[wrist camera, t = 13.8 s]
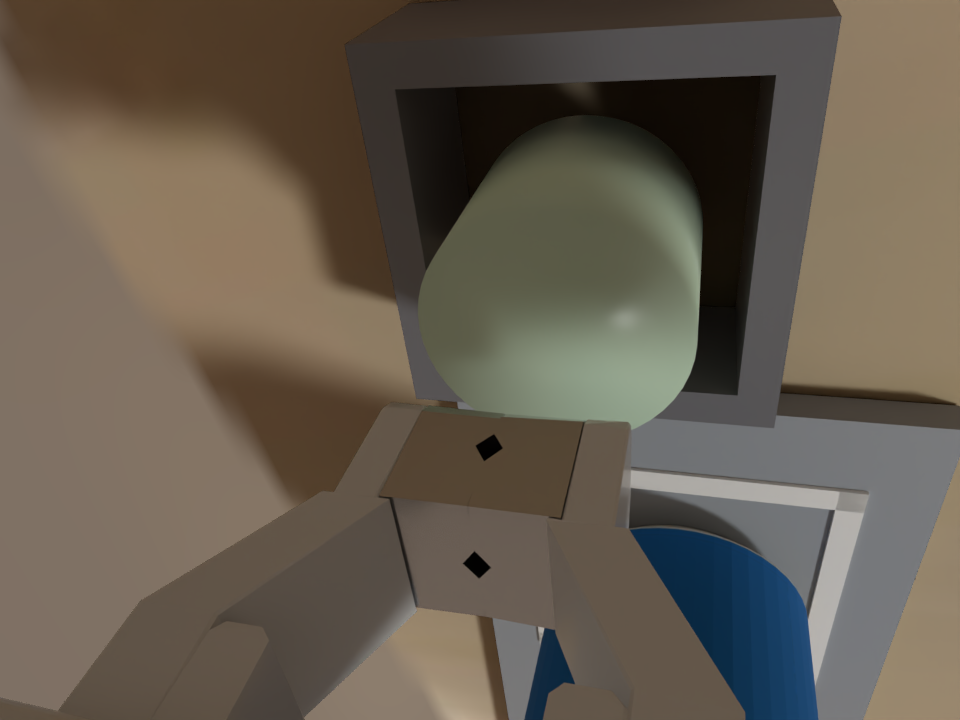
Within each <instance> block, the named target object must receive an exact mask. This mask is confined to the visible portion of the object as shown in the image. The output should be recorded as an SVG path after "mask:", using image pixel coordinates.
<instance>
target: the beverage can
mask: <svg viewBox="0 0 960 720" xmlns="http://www.w3.org/2000/svg"><path fill="white" fill-rule="evenodd" d="M629 530H630V531H631V533H632V535H633V536H634V538H635V539H636V541H637V542H638V544H639V546H640V547H641V549H642V550H643V552H644V554H645V555H646V557H647V558H648V560H649V561H650V563H651V565H652V566H653V568H654V569H655V571H656V572H657V574H658V576H659V577H660V579H661V580H662V582H663V583H664V585H665V587H666V588H667V590H668V591H669V593H670V595H671V596H672V598H673V599H674V601H675V602H676V604H677V606H678V607H679V609H680V610H681V612H682V613H683V615H684V617H685V618H686V620H687V621H688V623H689V624H690V626H691V628H692V629H693V631H694V632H695V634H696V636H697V637H698V639H699V640H700V642H701V643H702V645H703V647H704V648H705V650H706V651H707V653H708V654H709V656H710V658H711V659H712V661H713V662H714V664H715V665H716V667H717V669H718V670H719V672H720V673H721V675H722V676H723V678H724V680H725V681H726V683H727V684H728V686H729V688H730V689H731V691H732V692H733V694H734V695H735V697H736V699H737V700H738V702H739V703H740V705H741V706H742V708H743V710H744V711H745V720H819V719H818V709H817V700H816V691H815V681H814V672H813V663H812V654H811V644H810V635H809V626H808V618H807V610H806V608H805V605H804V602H803V599H802V597H801V595H800V594H799V592H798V590H797V589H796V587H795V585H794V584H793V583H792V582H791V581H790V579H789V578H788V577H787V576H786V575H785V574H784V573H783V572H782V571H781V570H780V569H779V568H778V567H777V566H775V565H774V564H773V563H771V562H770V561H768V560H767V559H766V558H764V557H763V556H761V555H760V554H758V553H756V552H754V551H753V550H751V549H749V548H747V547H745V546H743V545H740V544H738V543H736V542H734V541H731V540H729V539H726V538H723V537H721V536H718V535H716V534H713V533H710V532H707V531H704V530H700V529H696V528H691V527H685V526H678V525H649V526H641V527H636V528H629ZM563 683H570V684H575V682H574V679H573V677H572V674H571V672H570V669H569V667H568V664H567V661H566V659H565V656H564V654H563V651H562V649H561V646H560V643H559V641H558V638H557V636H556V631H555V630H553V629H548V628H544V632H543V637H542V641H541V646H540V650H539V655H538V659H537V664H536V669H535V673H534V678H533V682H532V687H531V691H530V696H529V700H528V705H527V709H526V714H525V719H524V720H543V717H544V712H545V707H546V703H547V698H548V694H549V693H550V692H551V691H553V690H554V689H556V688H557V687H559V686H560V685H562V684H563Z"/></svg>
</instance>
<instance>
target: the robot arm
mask: <svg viewBox="0 0 960 720" xmlns="http://www.w3.org/2000/svg"><path fill="white" fill-rule="evenodd" d="M631 445H632V431H631V425H630V423H629V422H622V421H606V420H590V419H587V420H577V419H564V418H551V417H538V416H526V415H513V414H503V413H494V412H485V411H475V410H466V409H457V408H448V407H438V406H423V405H414V404H404V403H395V402H391V403H389V404H388V405H386V406H385V407H383V408H382V410H381V411H380V413H379V415H378V417H377V418H376V420H375V422H374V423H373V425H372V427H371V429H370V430H369V432H368V434H367V435H366V437H365V439H364V441H363V442H362V444H361V446H360V447H359V449H358V451H357V453H356V454H355V456H354V458H353V459H352V461H351V463H350V465H349V466H348V468H347V470H346V471H345V473H344V475H343V477H342V478H341V480H340V482H339V483H338V485H337V487H336V489H335V490H334V492H328V491H321V492H320V493H318V494H316V495H315V496H313V497H311V498H310V499H308V500H306V501H305V502H303V503H301V504H300V505H298V506H296V507H295V508H293V509H291V510H290V511H288V512H287V513H285V514H283V515H282V516H280V517H278V518H277V519H275V520H273V521H272V522H270V523H268V524H267V525H265V526H264V527H262V528H260V529H258V530H257V531H255V532H253V533H252V534H250V535H249V536H247V537H245V538H243V539H242V540H240V541H239V542H237V543H235V544H234V545H232V546H230V547H229V548H227V549H225V550H224V551H222V552H220V553H219V554H217V555H216V556H214V557H212V558H211V559H209V560H207V561H205V562H204V563H202V564H201V565H199V566H197V567H196V568H194V569H192V570H191V571H189V572H187V573H186V574H184V575H182V576H181V577H179V578H177V579H176V580H174V581H172V582H171V583H169V584H167V585H166V586H164V587H163V588H161V589H159V590H158V591H156V592H154V593H152V594H151V595H149V596H148V597H146V598H144V599H143V600H141V601H140V602H139V603H138V605H137V606H136V607H135V609H134V610H133V611H132V612H131V614H130V615H129V617H128V618H127V619H126V620H125V622H124V623H123V625H122V626H121V627H120V629H119V630H118V631H117V633H116V634H115V635H114V637H113V638H112V639H111V641H110V642H109V643H108V645H107V646H106V647H105V649H104V650H103V651H102V653H101V654H100V655H99V657H98V658H97V659H96V661H95V662H94V663H93V665H92V666H91V667H90V669H89V670H88V671H87V673H86V674H85V675H84V677H83V678H82V679H81V681H80V682H79V683H78V685H77V686H76V687H75V689H74V690H73V692H72V693H71V694H70V695H69V697H68V698H67V699H66V701H65V702H64V703H63V705H62V706H61V707H60V709H59V710H58V711H56V710H51V709H47V708H43V707H39V706H35V705H30V704H26V703H22V702H18V701H13V700H9V699H5V698H1V697H0V720H305V719H304V717H305V716H306V715H307V714H308V713H309V712H310V711H311V710H312V709H313V708H315V707H316V706H317V705H318V704H319V703H320V702H321V701H322V700H323V699H324V698H325V697H326V696H327V695H328V694H329V693H330V692H332V691H333V690H334V689H335V688H336V687H337V686H338V685H339V684H340V683H341V682H342V681H343V680H344V679H345V678H346V677H348V676H349V675H350V674H351V673H352V672H353V671H354V670H355V669H356V668H357V667H358V666H359V665H360V664H361V663H362V662H363V661H365V660H366V659H367V658H368V657H369V656H370V655H371V654H372V653H373V652H374V651H375V650H376V649H377V648H378V647H379V646H380V645H382V644H383V643H384V642H385V641H386V640H387V639H388V638H389V637H390V636H391V635H392V634H393V633H394V632H395V631H397V630H398V629H399V628H400V627H401V626H402V625H403V624H404V623H405V622H406V621H407V620H408V619H409V618H410V617H411V616H412V615H414V614H415V613H416V612H417V611H416V607H418V608H425V609H433V610H440V611H448V612H455V613H463V614H470V615H477V616H486V617H490V618H495V619H500V620H506V621H511V622H516V623H521V624H527V625H532V626H537V627H542V628H548V629H553V630H555V631H556V636H557V638H558V641H559V643H560V646H561V649H562V651H563V654H564V656H565V659H566V661H567V664H568V667H569V669H570V672H571V674H572V677H573V679H574V682H575V684H570V683H563V684H562V685H560V686H559V687H557V688H556V689H554V690H553V691H551V692H550V693H549V694H548V698H547V703H546V707H545V712H544V717H543V720H745V711H744V710H743V708H742V706H741V705H740V703H739V702H738V700H737V699H736V697H735V695H734V694H733V692H732V691H731V689H730V688H729V686H728V684H727V683H726V681H725V680H724V678H723V676H722V675H721V673H720V672H719V670H718V669H717V667H716V665H715V664H714V662H713V661H712V659H711V658H710V656H709V654H708V653H707V651H706V650H705V648H704V647H703V645H702V643H701V642H700V640H699V639H698V637H697V636H696V634H695V632H694V631H693V629H692V628H691V626H690V624H689V623H688V621H687V620H686V618H685V617H684V615H683V613H682V612H681V610H680V609H679V607H678V606H677V604H676V602H675V601H674V599H673V598H672V596H671V595H670V593H669V591H668V590H667V588H666V587H665V585H664V583H663V582H662V580H661V579H660V577H659V576H658V574H657V572H656V571H655V569H654V568H653V566H652V565H651V563H650V561H649V560H648V558H647V557H646V555H645V554H644V552H643V550H642V549H641V547H640V546H639V544H638V542H637V541H636V539H635V538H634V536H633V535H632V533H631V531H630V530H629V513H630V495H631Z"/></svg>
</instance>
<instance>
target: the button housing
mask: <svg viewBox="0 0 960 720" xmlns="http://www.w3.org/2000/svg"><path fill="white" fill-rule="evenodd" d="M841 17H842V16H841V14H840V13H839V11H838V9H837V7H836V5H835V4H834V2H833V0H454V1H440V2H426V3H412V4H408V5H406V6H404V7H403V8H401V9H400V10H398V11H397V12H395V13H393V14H392V15H390V16H389V17H387V18H386V19H384V20H382V21H381V22H379V23H378V24H376V25H375V26H373V27H371V28H370V29H368V30H367V31H365V32H364V33H362V34H360V35H359V36H357V37H356V38H354V39H353V40H351V41H349V42H348V43H346V44H345V50H346V55H347V60H348V64H349V69H350V74H351V79H352V84H353V89H354V94H355V99H356V104H357V109H358V114H359V119H360V123H361V128H362V133H363V138H364V143H365V148H366V153H367V158H368V163H369V168H370V173H371V178H372V182H373V187H374V192H375V197H376V202H377V207H378V212H379V217H380V222H381V227H382V232H383V237H384V241H385V246H386V251H387V256H388V261H389V266H390V271H391V276H392V281H393V286H394V291H395V295H396V300H397V305H398V310H399V315H400V320H401V325H402V330H403V335H404V340H405V345H406V350H407V354H408V359H409V364H410V369H411V374H412V379H413V384H414V389H415V394H416V399H428V400H440V401H452V402H464V401H463V400H462V399H461V398H460V397H459V396H457V395H456V394H455V393H454V391H453V390H452V389H451V388H450V387H449V386H448V385H447V384H446V383H445V381H444V380H443V379H442V377H441V376H440V375H439V373H438V372H437V370H436V369H435V367H434V365H433V363H432V362H431V360H430V358H429V356H428V353H427V351H426V349H425V346H424V344H423V340H422V336H421V332H420V328H419V320H418V299H419V293H420V288H421V284H422V281H423V278H424V275H425V273H426V270H427V268H428V267H429V265H430V263H431V261H432V259H433V258H434V256H435V254H436V253H437V251H438V250H439V248H440V247H441V245H442V243H443V242H444V240H445V239H446V237H447V236H448V234H449V232H450V231H451V229H452V228H453V226H454V225H455V223H456V222H457V220H458V218H459V217H460V215H461V214H462V212H463V211H464V209H465V207H466V206H467V204H468V203H469V193H468V185H467V177H466V169H465V161H464V153H463V145H462V137H461V129H460V121H459V113H458V105H457V97H456V89H455V87H473V86H499V85H525V84H551V83H577V82H603V81H630V80H656V79H682V78H708V77H734V76H760V75H761V78H760V87H759V96H758V105H757V114H756V123H755V133H754V142H753V151H752V160H751V169H750V178H749V188H748V197H747V206H746V215H745V224H744V233H743V243H742V252H741V261H740V270H739V279H738V288H737V298H736V307H735V308H732V307H708V306H699V321H698V342H697V350H696V356H695V361H694V364H693V367H692V370H691V373H690V375H689V377H688V379H687V381H686V383H685V385H684V387H683V388H682V390H681V391H680V392H679V394H678V395H677V396H676V398H675V399H674V400H673V401H672V402H671V403H670V404H669V405H668V406H667V407H666V408H665V409H664V410H663V411H662V412H661V413H659V414H658V415H657V416H655V417H654V418H656V419H668V420H680V421H692V422H704V423H716V424H728V425H740V426H752V427H764V428H774V427H775V420H776V414H777V408H778V402H779V396H780V390H781V384H782V378H783V372H784V365H785V359H786V353H787V347H788V341H789V335H790V329H791V323H792V316H793V310H794V304H795V298H796V292H797V286H798V280H799V274H800V267H801V261H802V255H803V249H804V243H805V237H806V231H807V225H808V219H809V212H810V206H811V200H812V194H813V188H814V182H815V176H816V170H817V163H818V157H819V151H820V145H821V139H822V133H823V127H824V121H825V115H826V108H827V102H828V96H829V90H830V84H831V78H832V72H833V66H834V59H835V53H836V47H837V41H838V35H839V29H840V23H841ZM464 403H465V402H464Z"/></svg>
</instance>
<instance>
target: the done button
mask: <svg viewBox="0 0 960 720" xmlns="http://www.w3.org/2000/svg"><path fill="white" fill-rule="evenodd" d="M702 237H703V212H702V205H701V200H700V196H699V193H698V190H697V187H696V184H695V182H694V180H693V178H692V176H691V174H690V172H689V171H688V169H687V168H686V166H685V165H684V163H683V162H682V160H681V159H680V158H679V157H678V156H677V155H676V154H675V152H674V151H673V150H672V149H671V148H670V147H668V146H667V145H666V144H665V143H664V142H663V141H661V140H660V139H659V138H657V137H656V136H654V135H653V134H651V133H650V132H648V131H646V130H645V129H642V128H640V127H638V126H636V125H634V124H632V123H629V122H625V121H622V120H619V119H616V118H610V117H604V116H595V115H579V116H568V117H563V118H559V119H555V120H551V121H548V122H546V123H543V124H540V125H538V126H536V127H534V128H532V129H530V130H529V131H527V132H525V133H524V134H522V135H521V136H519V137H518V138H517V139H515V140H514V141H513V142H512V143H511V144H510V145H509V146H508V147H507V148H506V149H505V150H504V151H503V152H502V153H501V154H500V156H499V157H498V158H497V159H496V161H495V162H494V164H493V165H492V167H491V168H490V170H489V171H488V173H487V175H486V176H485V178H484V179H483V181H482V182H481V184H480V185H479V187H478V189H477V190H476V192H475V193H474V195H473V196H472V198H471V200H470V201H469V203H468V204H467V206H466V207H465V209H464V211H463V212H462V214H461V215H460V217H459V218H458V220H457V222H456V223H455V225H454V226H453V228H452V229H451V231H450V232H449V234H448V236H447V237H446V239H445V240H444V242H443V243H442V245H441V247H440V248H439V250H438V251H437V253H436V254H435V256H434V258H433V259H432V261H431V263H430V265H429V267H428V268H427V270H426V273H425V275H424V278H423V281H422V284H421V288H420V293H419V299H418V320H419V328H420V332H421V336H422V340H423V344H424V346H425V349H426V351H427V353H428V356H429V358H430V360H431V362H432V363H433V365H434V367H435V369H436V370H437V372H438V373H439V375H440V376H441V377H442V379H443V380H444V381H445V383H446V384H447V385H448V386H449V387H450V388H451V389H452V390H453V391H454V393H455V394H456V395H457V396H459V397H460V398H461V399H462V400H463V401H464V402H465V403H466V404H468V405H469V406H470V407H472V408H473V409H475V410H476V411H485V412H494V413H503V414H513V415H526V416H538V417H551V418H564V419H577V420H587V419H590V420H606V421H622V422H629V423H630V425H631V430H633V429H635V428H637V427H639V426H641V425H643V424H644V423H646V422H648V421H650V420H651V419H653V418H654V417H655V416H657V415H658V414H659V413H661V412H662V411H663V410H664V409H665V408H666V407H667V406H668V405H669V404H670V403H671V402H672V401H673V400H674V399H675V398H676V396H677V395H678V394H679V392H680V391H681V390H682V388H683V387H684V385H685V383H686V381H687V379H688V377H689V375H690V373H691V370H692V367H693V364H694V361H695V356H696V350H697V342H698V321H699V300H700V279H701V258H702Z"/></svg>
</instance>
